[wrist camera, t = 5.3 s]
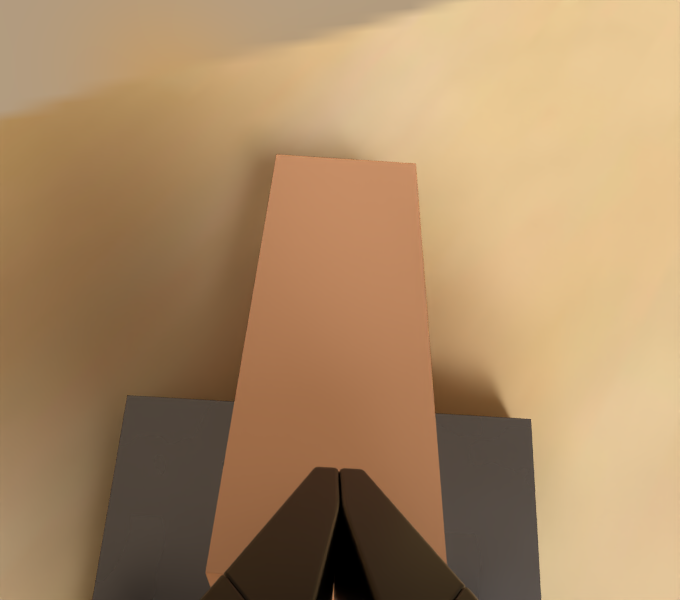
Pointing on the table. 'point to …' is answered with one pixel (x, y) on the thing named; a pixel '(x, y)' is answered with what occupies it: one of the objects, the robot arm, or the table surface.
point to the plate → (205, 478)
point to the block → (333, 351)
